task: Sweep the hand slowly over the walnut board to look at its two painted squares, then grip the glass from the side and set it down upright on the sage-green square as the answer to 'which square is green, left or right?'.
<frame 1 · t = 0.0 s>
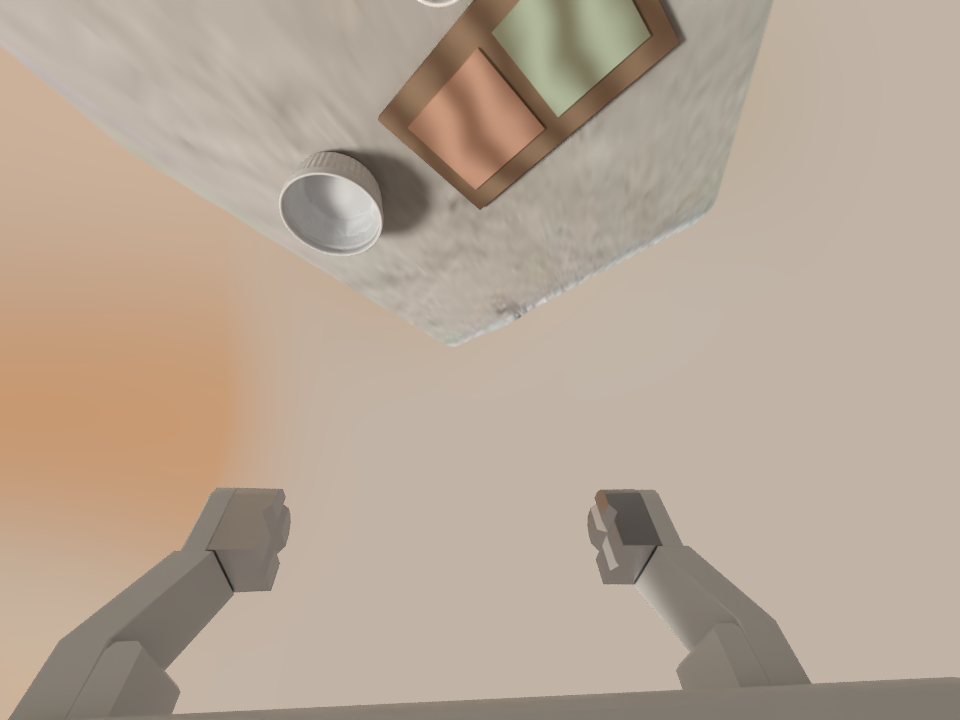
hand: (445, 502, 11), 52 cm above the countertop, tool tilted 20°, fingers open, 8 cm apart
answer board: (519, 79, 50), on the countertop
ramekin: (340, 186, 61), on the countertop
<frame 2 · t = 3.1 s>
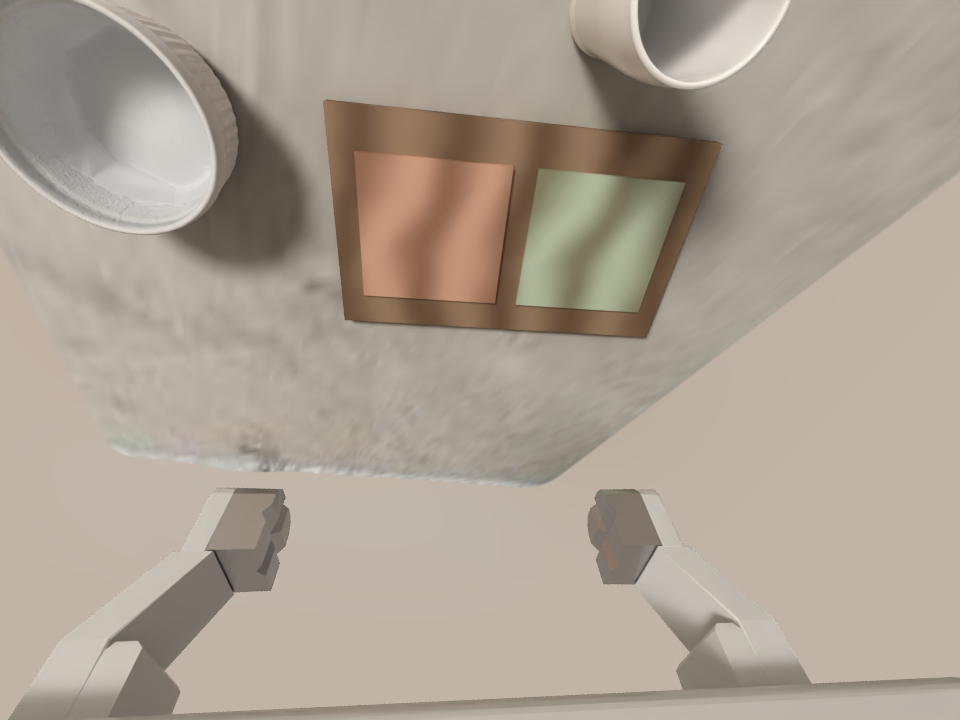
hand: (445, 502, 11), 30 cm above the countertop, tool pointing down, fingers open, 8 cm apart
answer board: (513, 236, 38), on the countertop
ramekin: (160, 112, 31), on the countertop
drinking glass: (605, 10, 29), on the countertop
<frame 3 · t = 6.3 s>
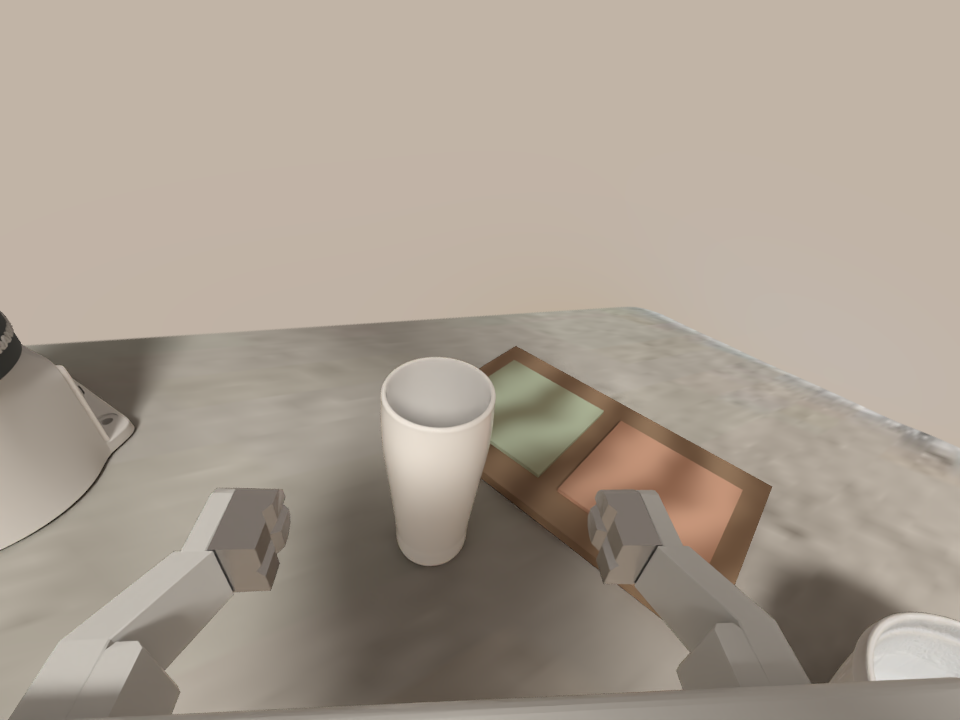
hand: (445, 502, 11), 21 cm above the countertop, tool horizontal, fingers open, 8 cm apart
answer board: (580, 455, 42), on the countertop
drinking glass: (431, 537, 34), on the countertop
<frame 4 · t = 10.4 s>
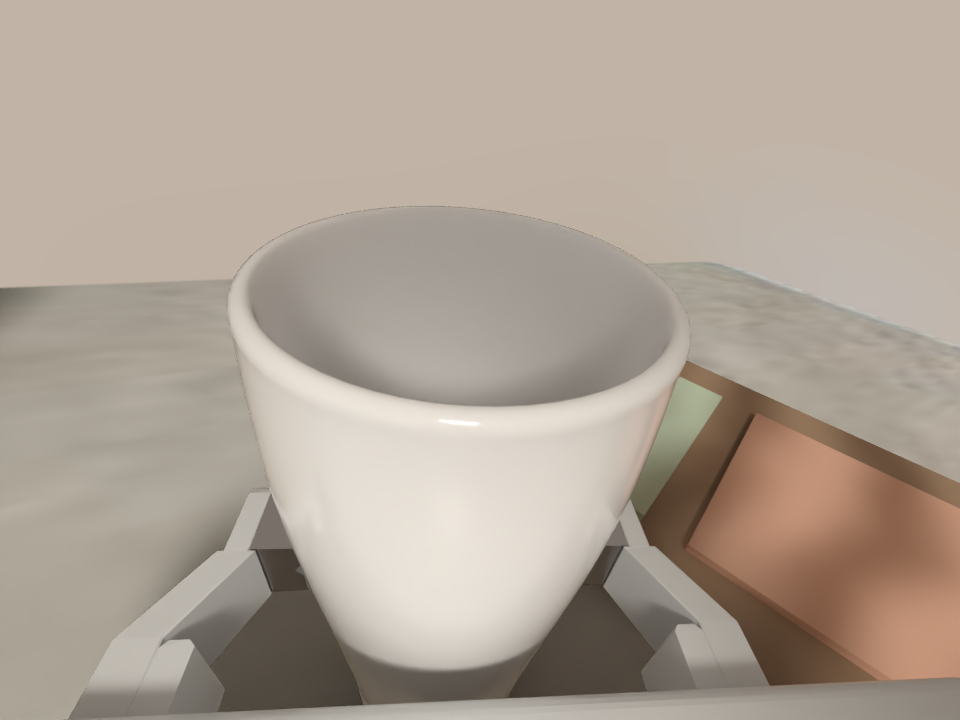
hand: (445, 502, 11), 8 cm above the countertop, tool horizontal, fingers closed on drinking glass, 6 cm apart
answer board: (698, 473, 24), on the countertop
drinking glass: (436, 664, 15), on the countertop, touching gripper
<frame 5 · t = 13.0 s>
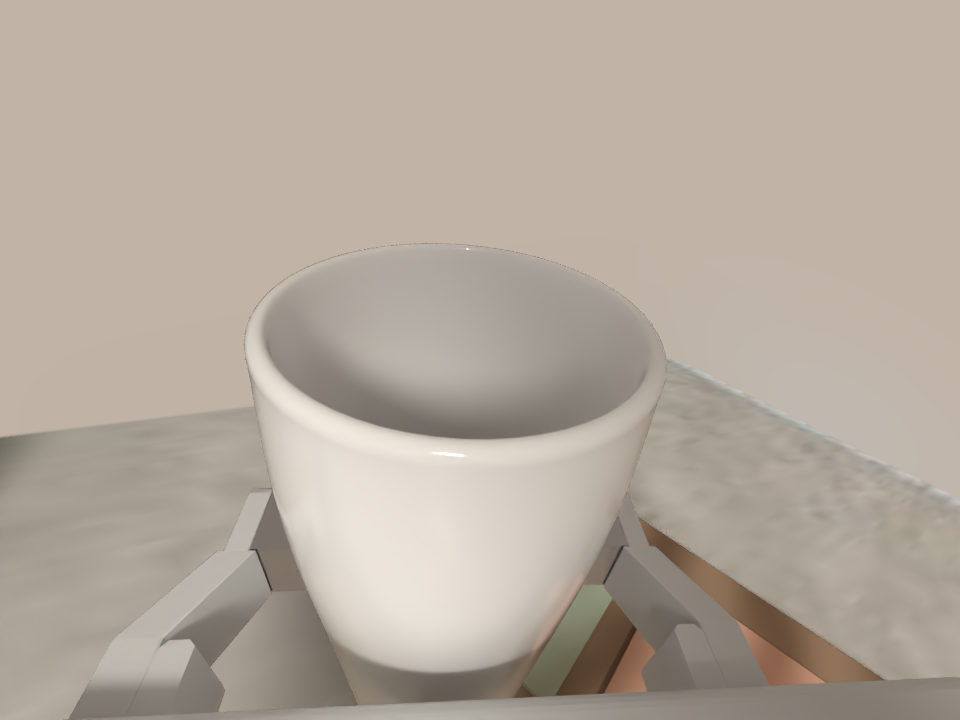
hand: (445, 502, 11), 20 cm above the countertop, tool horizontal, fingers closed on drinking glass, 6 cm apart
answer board: (609, 639, 27), on the countertop
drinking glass: (434, 685, 16), point 11 cm above the countertop, touching gripper
when the fingers open (11 cm above the countertop, at t = 16.0 s): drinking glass stays where it is, resting on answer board.
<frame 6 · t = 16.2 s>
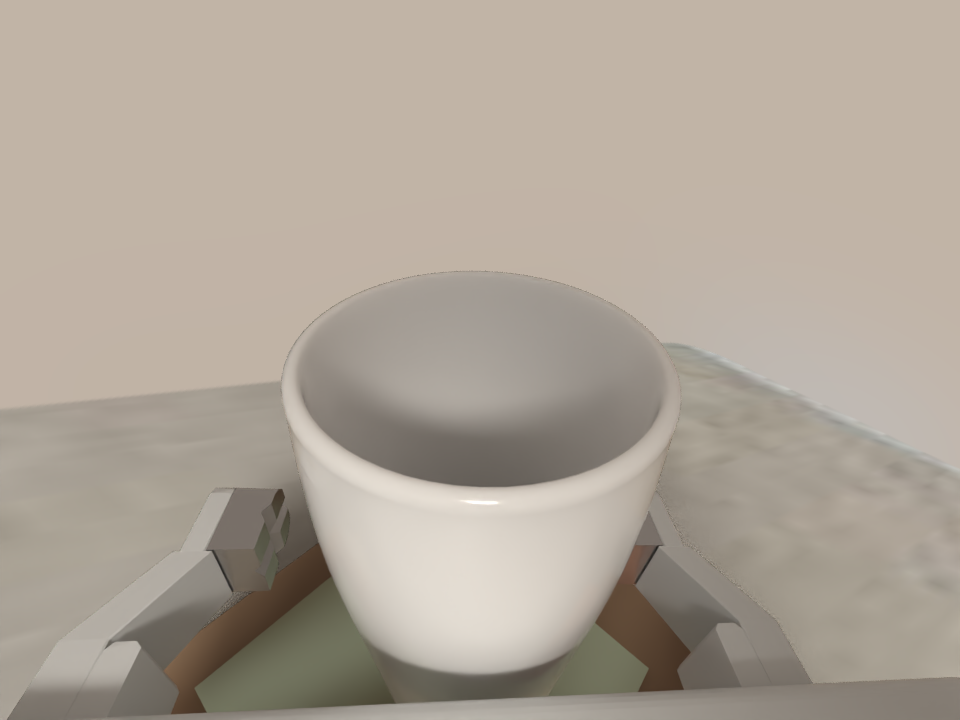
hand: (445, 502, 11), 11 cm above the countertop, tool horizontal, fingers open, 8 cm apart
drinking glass: (468, 685, 16), point 1 cm above the countertop, touching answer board, gripper
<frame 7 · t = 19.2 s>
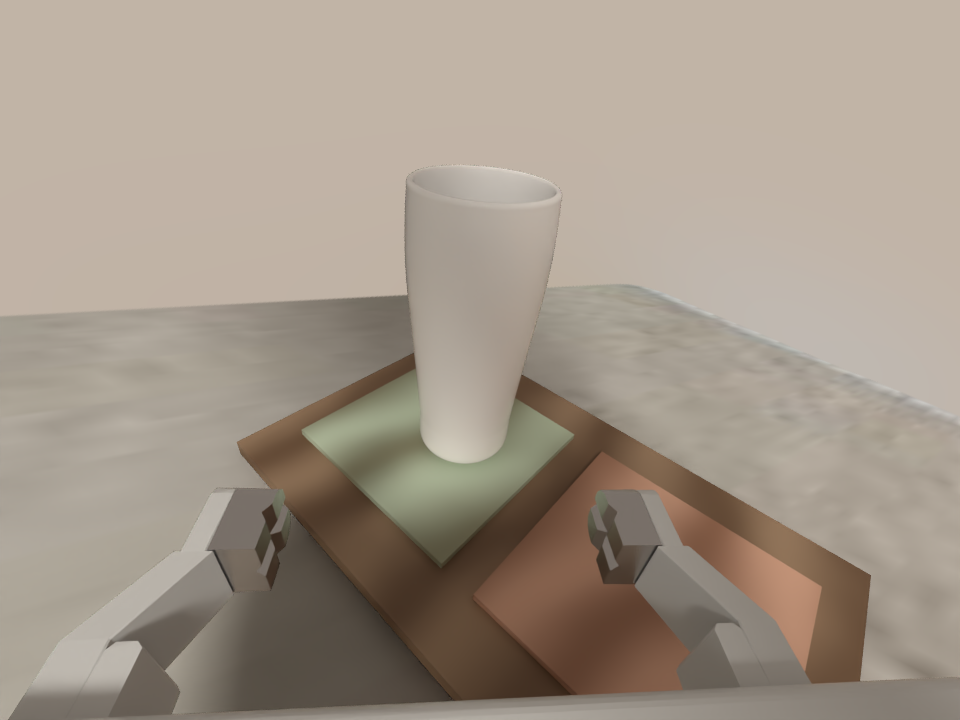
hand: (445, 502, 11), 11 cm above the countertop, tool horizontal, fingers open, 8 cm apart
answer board: (529, 515, 24), on the countertop
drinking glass: (462, 437, 27), point 1 cm above the countertop, touching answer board
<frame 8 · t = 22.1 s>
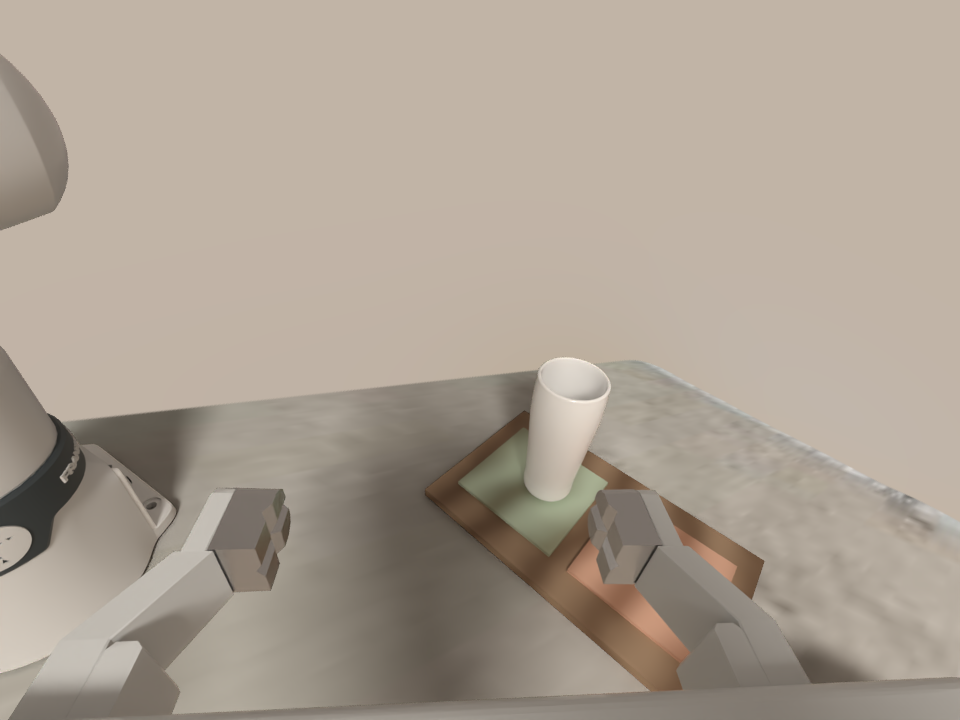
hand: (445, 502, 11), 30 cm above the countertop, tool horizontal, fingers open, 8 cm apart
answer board: (586, 529, 45), on the countertop
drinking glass: (546, 485, 48), point 1 cm above the countertop, touching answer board
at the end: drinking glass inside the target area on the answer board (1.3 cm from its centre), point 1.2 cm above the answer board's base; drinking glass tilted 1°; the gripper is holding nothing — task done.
